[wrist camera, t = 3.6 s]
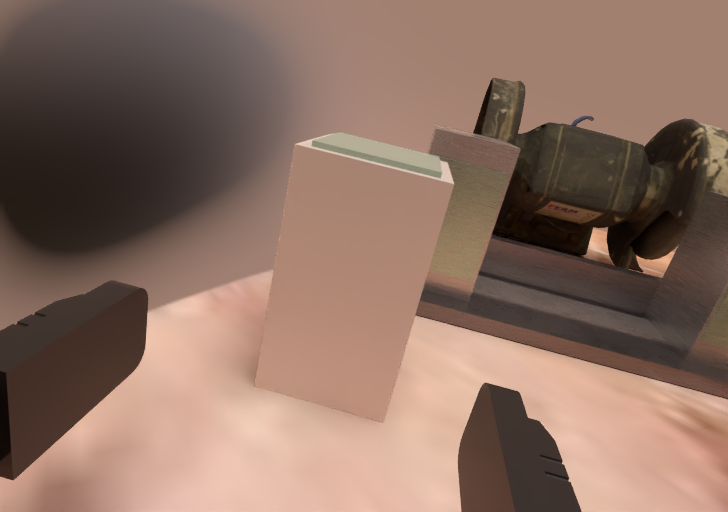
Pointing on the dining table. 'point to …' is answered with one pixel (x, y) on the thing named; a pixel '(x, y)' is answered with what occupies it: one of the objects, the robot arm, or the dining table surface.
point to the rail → (576, 282)
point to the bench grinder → (602, 181)
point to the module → (350, 270)
